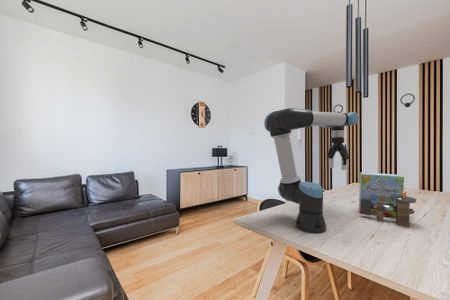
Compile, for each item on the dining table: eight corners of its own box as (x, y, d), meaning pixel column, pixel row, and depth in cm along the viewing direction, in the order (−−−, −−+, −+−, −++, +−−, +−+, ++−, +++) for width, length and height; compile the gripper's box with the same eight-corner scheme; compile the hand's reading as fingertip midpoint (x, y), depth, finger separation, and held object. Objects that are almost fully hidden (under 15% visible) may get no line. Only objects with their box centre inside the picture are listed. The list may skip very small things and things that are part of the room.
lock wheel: (417, 204, 106) (417, 193, 106) (390, 200, 113) (390, 190, 113) (414, 199, 115) (414, 189, 115) (389, 196, 122) (389, 187, 122)
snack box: (359, 213, 131) (360, 173, 130) (358, 209, 139) (358, 172, 138) (403, 219, 121) (404, 176, 120) (399, 214, 129) (400, 174, 128)
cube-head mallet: (414, 222, 110) (415, 206, 110) (361, 214, 124) (362, 199, 124) (413, 220, 113) (414, 204, 113) (362, 212, 127) (362, 198, 127)
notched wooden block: (409, 227, 109) (409, 203, 109) (376, 221, 118) (377, 198, 117) (407, 222, 116) (407, 199, 116) (376, 216, 125) (376, 195, 124)
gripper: (356, 136, 124) (355, 171, 124) (332, 137, 149) (331, 166, 149) (344, 136, 123) (343, 171, 124) (322, 137, 148) (321, 166, 149)
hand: (337, 169), depth 136 cm, fingers open, 13 cm apart
